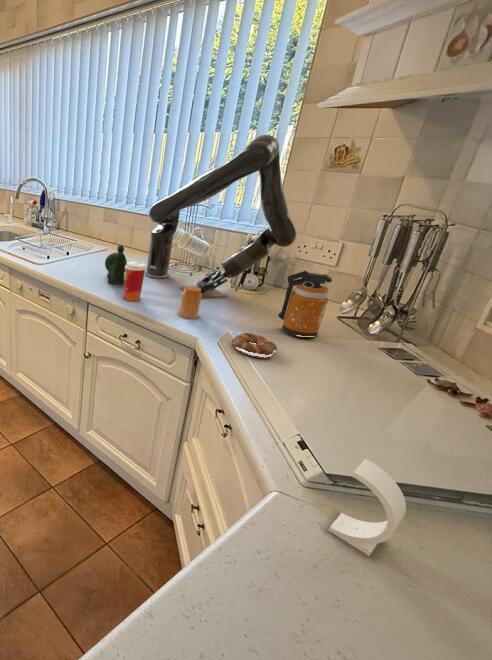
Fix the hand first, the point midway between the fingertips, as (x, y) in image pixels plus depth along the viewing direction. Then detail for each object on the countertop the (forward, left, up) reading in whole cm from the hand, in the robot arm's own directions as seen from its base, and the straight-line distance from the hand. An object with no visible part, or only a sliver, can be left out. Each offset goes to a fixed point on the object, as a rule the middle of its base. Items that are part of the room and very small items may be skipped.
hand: (198, 288), depth 158 cm
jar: (+24, -12, -1) cm, 27 cm away
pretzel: (+49, -3, -2) cm, 49 cm away
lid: (+1, +2, +2) cm, 3 cm away
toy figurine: (-14, -30, -2) cm, 33 cm away
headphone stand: (+108, -17, -2) cm, 110 cm away
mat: (0, +2, -1) cm, 2 cm away
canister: (+36, +16, -2) cm, 40 cm away
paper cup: (+8, -28, -2) cm, 30 cm away
